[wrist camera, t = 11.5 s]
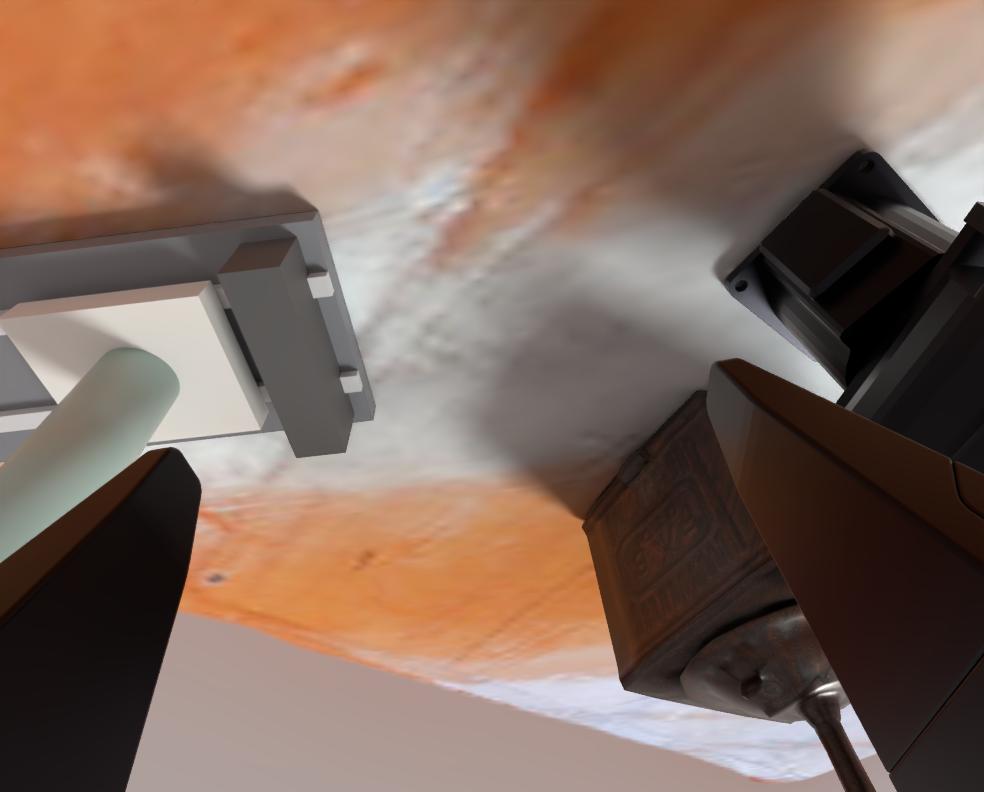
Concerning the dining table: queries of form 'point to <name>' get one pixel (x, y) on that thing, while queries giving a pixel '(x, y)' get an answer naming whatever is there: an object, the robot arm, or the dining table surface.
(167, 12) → the dining table surface
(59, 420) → the carriage
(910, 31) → the dining table surface
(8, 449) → the rail track
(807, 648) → the manual coffee grinder
